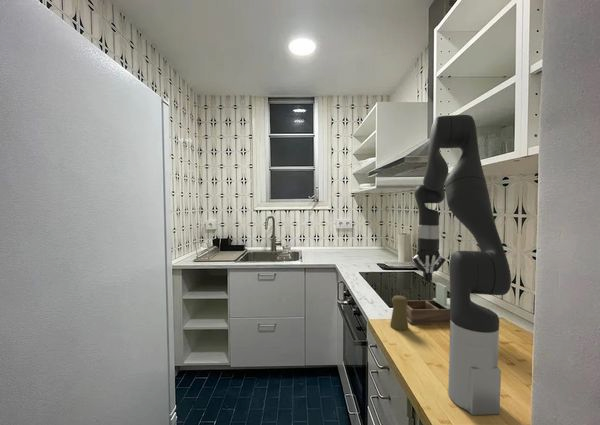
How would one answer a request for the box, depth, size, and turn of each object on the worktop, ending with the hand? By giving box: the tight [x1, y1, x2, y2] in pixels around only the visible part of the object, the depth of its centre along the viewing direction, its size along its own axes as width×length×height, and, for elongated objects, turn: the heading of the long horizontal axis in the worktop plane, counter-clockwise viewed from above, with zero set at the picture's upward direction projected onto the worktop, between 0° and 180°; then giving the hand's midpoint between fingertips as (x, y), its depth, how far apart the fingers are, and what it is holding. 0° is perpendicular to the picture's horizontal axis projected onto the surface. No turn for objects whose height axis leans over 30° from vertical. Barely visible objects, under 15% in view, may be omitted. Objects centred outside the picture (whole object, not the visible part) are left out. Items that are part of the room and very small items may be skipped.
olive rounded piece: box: [389, 294, 409, 332], centre depth 102 cm, size 6×6×11 cm
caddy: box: [406, 299, 450, 326], centre depth 111 cm, size 12×24×5 cm, turn 93°
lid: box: [432, 282, 450, 309], centre depth 111 cm, size 11×10×8 cm
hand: (427, 282), depth 110 cm, fingers closed
